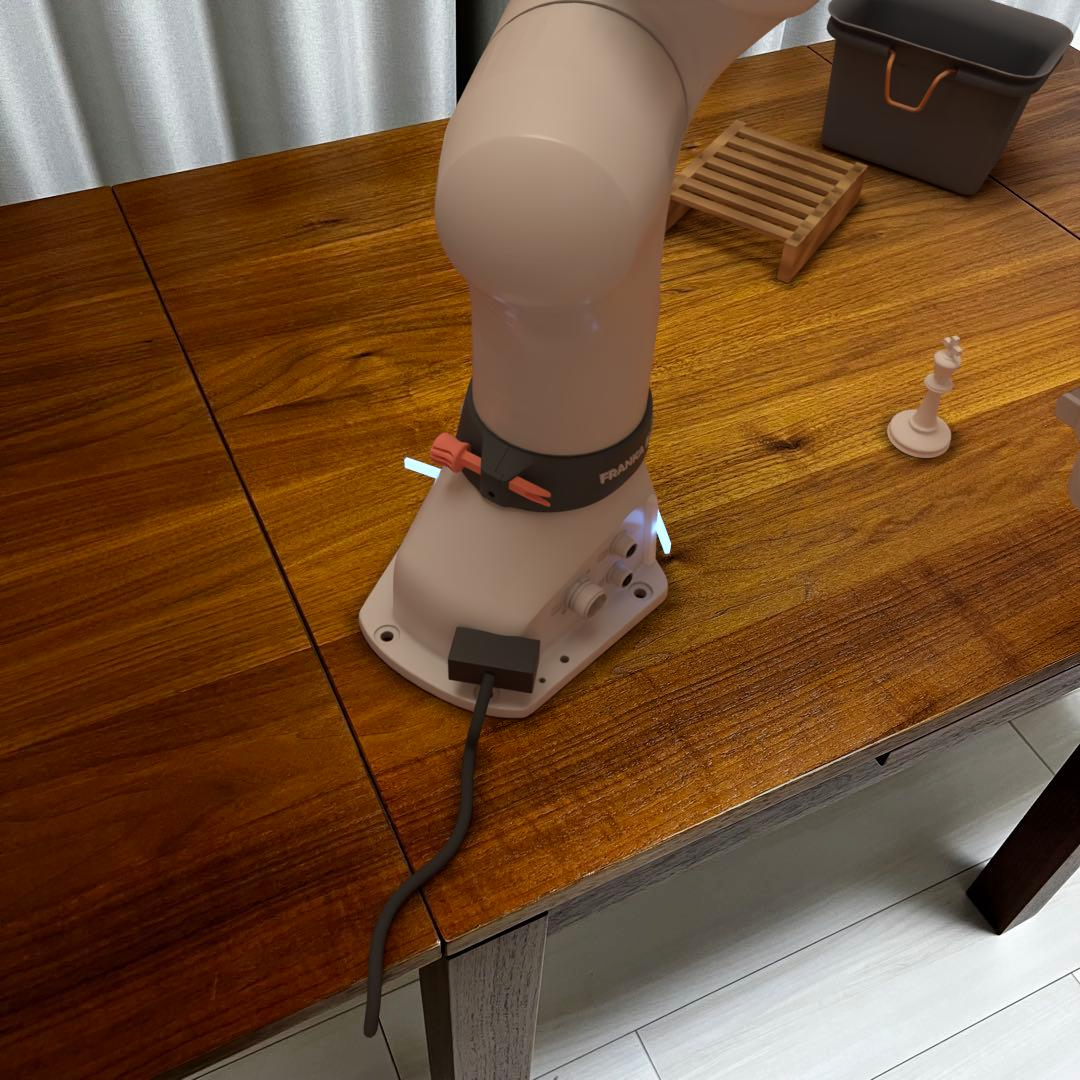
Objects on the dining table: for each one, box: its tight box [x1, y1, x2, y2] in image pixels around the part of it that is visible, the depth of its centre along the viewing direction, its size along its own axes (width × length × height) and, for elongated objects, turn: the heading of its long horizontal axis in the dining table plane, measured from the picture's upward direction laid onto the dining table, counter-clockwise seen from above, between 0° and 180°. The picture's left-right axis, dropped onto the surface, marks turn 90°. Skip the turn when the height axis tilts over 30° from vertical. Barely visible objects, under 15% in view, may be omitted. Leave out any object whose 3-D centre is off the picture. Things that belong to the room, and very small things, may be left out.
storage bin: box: [820, 0, 1075, 196], centre depth 116 cm, size 21×16×14 cm
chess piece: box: [886, 334, 964, 459], centre depth 91 cm, size 5×5×10 cm
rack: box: [665, 119, 869, 284], centre depth 112 cm, size 16×14×4 cm
